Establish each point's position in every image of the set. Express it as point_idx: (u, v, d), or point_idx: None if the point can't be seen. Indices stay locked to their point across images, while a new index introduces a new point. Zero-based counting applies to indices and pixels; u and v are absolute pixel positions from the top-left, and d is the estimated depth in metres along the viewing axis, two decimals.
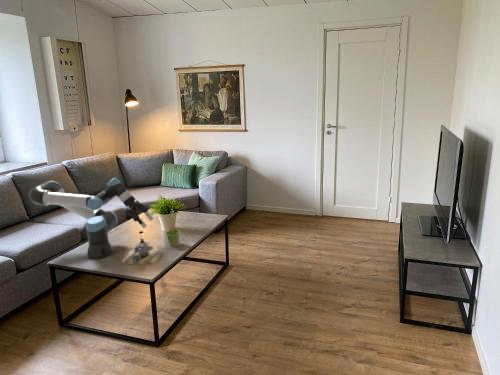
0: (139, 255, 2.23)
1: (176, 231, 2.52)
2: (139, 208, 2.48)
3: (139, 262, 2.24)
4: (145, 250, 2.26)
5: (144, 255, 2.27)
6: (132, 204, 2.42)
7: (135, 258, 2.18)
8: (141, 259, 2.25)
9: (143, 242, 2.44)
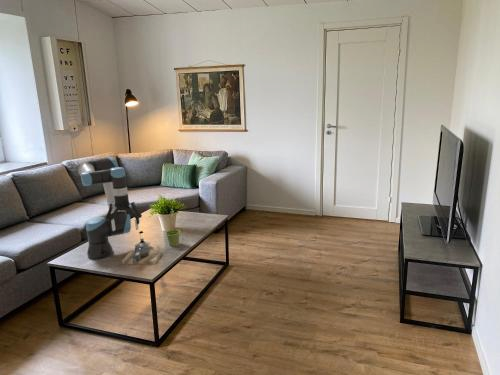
0: (139, 255, 2.23)
1: (176, 231, 2.52)
2: None
3: (139, 262, 2.24)
4: (145, 250, 2.26)
5: (144, 255, 2.27)
6: (117, 203, 2.14)
7: (135, 258, 2.18)
8: (141, 259, 2.25)
9: (143, 242, 2.44)
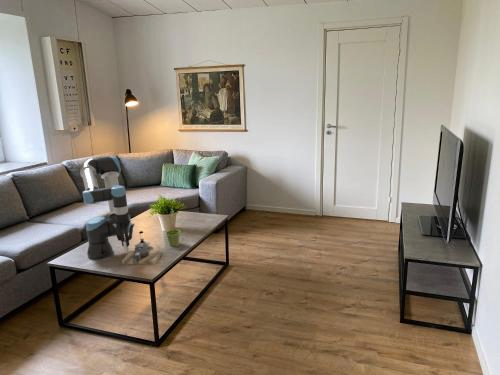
0: (139, 255, 2.23)
1: (176, 231, 2.52)
2: None
3: (139, 262, 2.24)
4: (145, 250, 2.26)
5: (144, 255, 2.27)
6: (117, 221, 2.15)
7: (135, 258, 2.18)
8: (141, 259, 2.25)
9: (143, 242, 2.44)
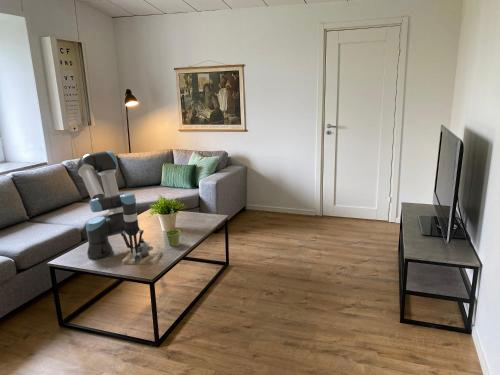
0: (140, 255, 2.23)
1: (176, 231, 2.52)
2: (134, 237, 2.18)
3: (139, 262, 2.24)
4: (145, 249, 2.27)
5: (145, 255, 2.27)
6: (126, 228, 2.15)
7: (137, 258, 2.18)
8: (141, 259, 2.25)
9: (143, 242, 2.44)
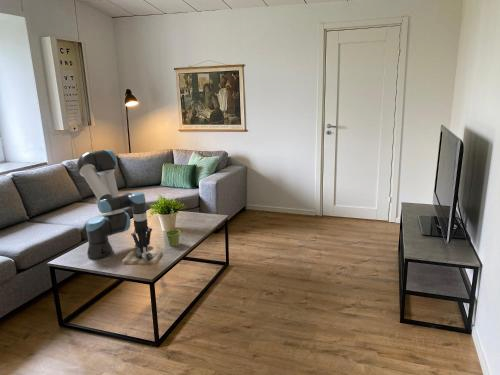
0: None
1: (176, 231, 2.52)
2: (143, 236, 2.19)
3: (139, 262, 2.24)
4: None
5: None
6: (137, 228, 2.15)
7: (150, 255, 2.20)
8: (141, 259, 2.25)
9: None
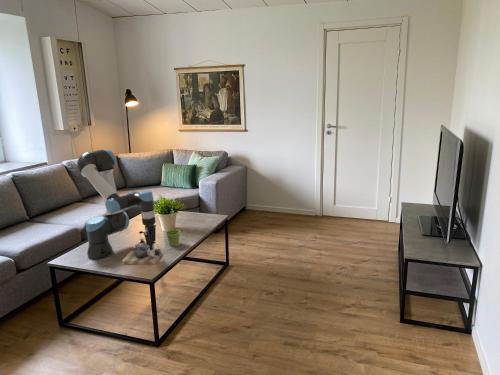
0: None
1: (176, 231, 2.52)
2: None
3: (139, 262, 2.24)
4: None
5: None
6: (149, 226, 2.18)
7: (160, 250, 2.27)
8: (141, 259, 2.25)
9: (143, 242, 2.44)
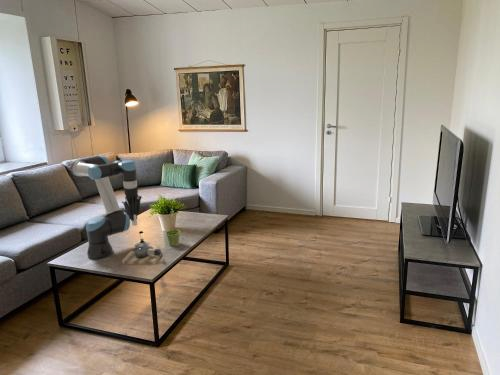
0: None
1: (176, 231, 2.52)
2: (133, 204, 2.21)
3: (139, 262, 2.24)
4: None
5: None
6: (129, 196, 2.16)
7: (160, 250, 2.27)
8: (141, 259, 2.25)
9: (143, 242, 2.44)
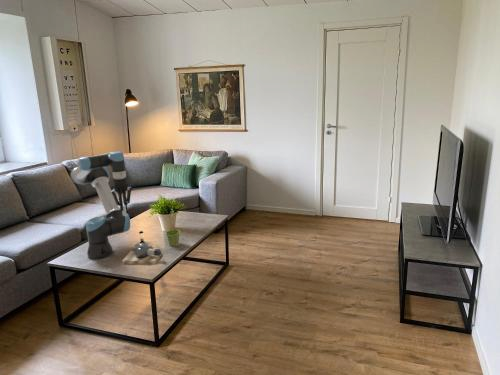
0: None
1: (176, 231, 2.52)
2: (123, 194, 2.26)
3: (139, 262, 2.24)
4: None
5: None
6: (116, 186, 2.22)
7: (160, 250, 2.27)
8: (141, 259, 2.25)
9: (143, 242, 2.44)
